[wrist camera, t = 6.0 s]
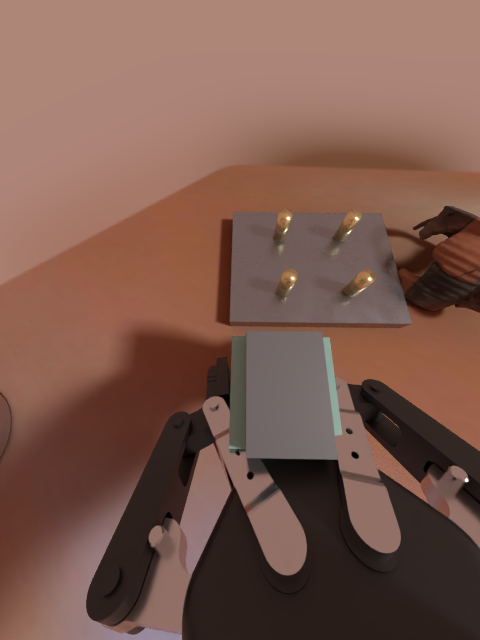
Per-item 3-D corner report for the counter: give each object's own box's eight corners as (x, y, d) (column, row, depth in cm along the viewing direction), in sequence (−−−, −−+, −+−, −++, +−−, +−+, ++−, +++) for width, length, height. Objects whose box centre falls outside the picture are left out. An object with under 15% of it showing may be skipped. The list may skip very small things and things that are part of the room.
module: (235, 411, 18) (227, 457, 7) (236, 360, 19) (231, 330, 8) (283, 411, 18) (356, 460, 7) (281, 361, 19) (337, 331, 8)
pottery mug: (361, 270, 23) (426, 194, 18) (394, 267, 28) (452, 207, 23) (469, 350, 17) (621, 272, 12) (486, 328, 22) (599, 266, 16)
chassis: (230, 325, 21) (227, 310, 16) (233, 222, 25) (232, 188, 21) (400, 327, 20) (442, 313, 16) (373, 223, 25) (400, 189, 20)
